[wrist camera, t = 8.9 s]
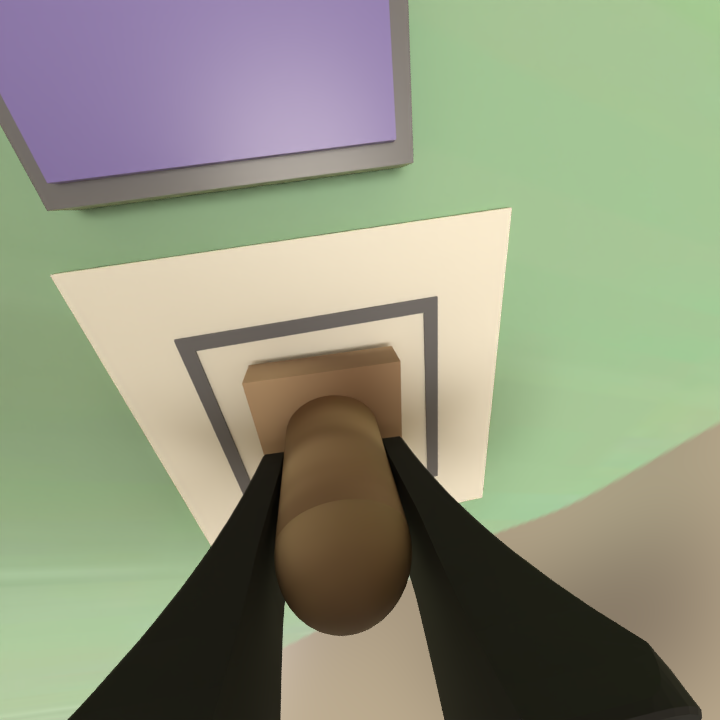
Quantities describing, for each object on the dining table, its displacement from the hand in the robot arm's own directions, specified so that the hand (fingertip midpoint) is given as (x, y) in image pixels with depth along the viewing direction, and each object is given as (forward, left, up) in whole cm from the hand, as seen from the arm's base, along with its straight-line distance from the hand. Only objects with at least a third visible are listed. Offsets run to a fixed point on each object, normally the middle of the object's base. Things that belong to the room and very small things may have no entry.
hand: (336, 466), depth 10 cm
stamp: (0, +1, -2) cm, 2 cm away
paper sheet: (0, 0, -3) cm, 3 cm away
